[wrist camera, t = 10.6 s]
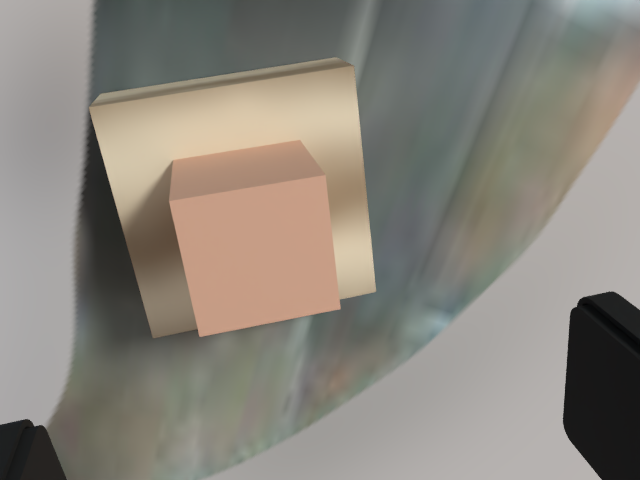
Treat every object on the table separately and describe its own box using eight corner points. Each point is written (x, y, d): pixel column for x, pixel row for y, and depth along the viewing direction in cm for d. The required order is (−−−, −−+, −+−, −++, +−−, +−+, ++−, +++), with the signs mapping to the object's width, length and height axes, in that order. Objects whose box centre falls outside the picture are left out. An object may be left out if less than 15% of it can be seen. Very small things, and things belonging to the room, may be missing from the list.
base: (100, 93, 27) (88, 107, 24) (335, 57, 29) (353, 65, 26) (156, 303, 32) (153, 338, 29) (358, 262, 33) (376, 291, 30)
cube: (172, 159, 26) (168, 201, 21) (300, 139, 26) (325, 174, 21) (197, 274, 28) (199, 336, 23) (314, 253, 29) (340, 309, 24)
